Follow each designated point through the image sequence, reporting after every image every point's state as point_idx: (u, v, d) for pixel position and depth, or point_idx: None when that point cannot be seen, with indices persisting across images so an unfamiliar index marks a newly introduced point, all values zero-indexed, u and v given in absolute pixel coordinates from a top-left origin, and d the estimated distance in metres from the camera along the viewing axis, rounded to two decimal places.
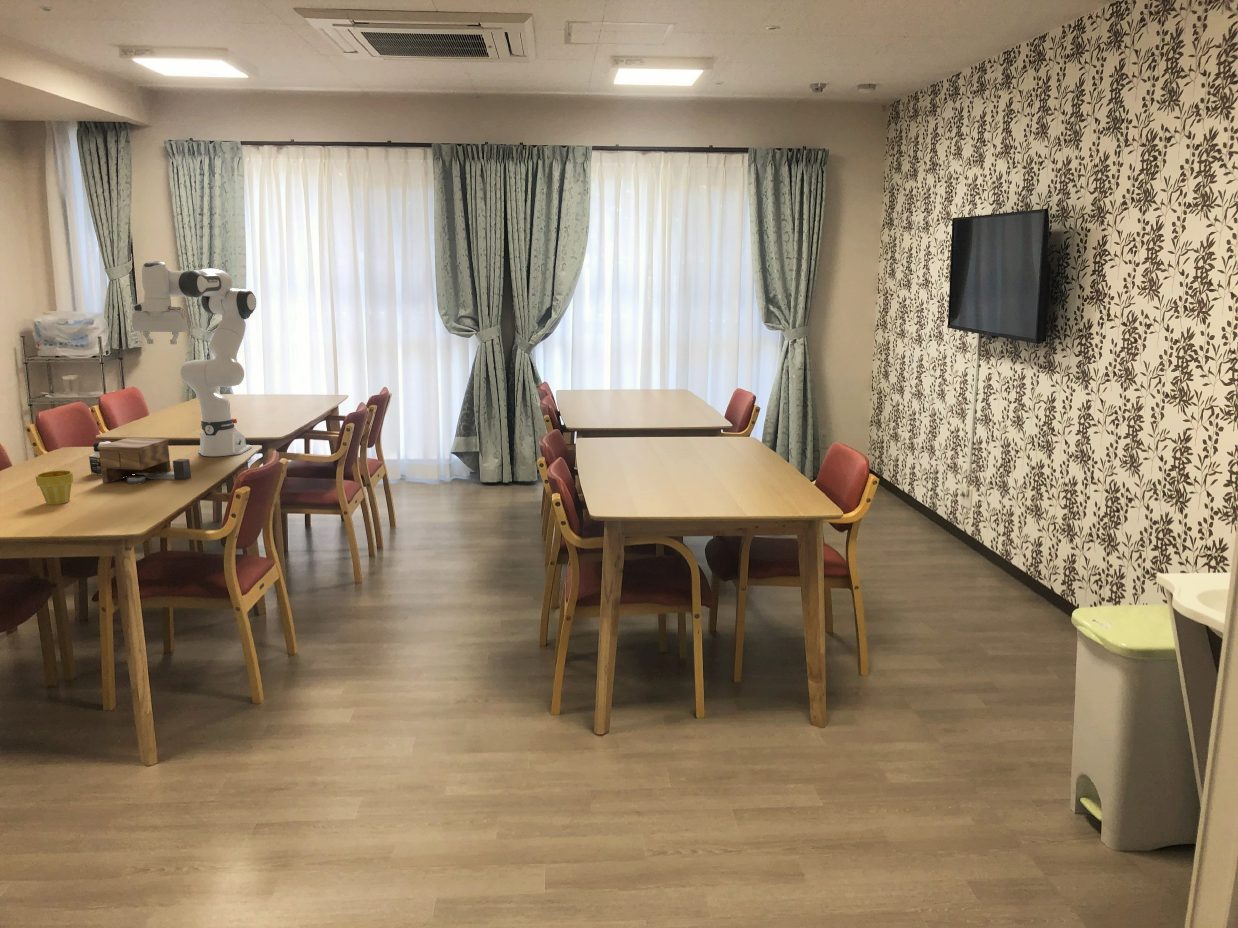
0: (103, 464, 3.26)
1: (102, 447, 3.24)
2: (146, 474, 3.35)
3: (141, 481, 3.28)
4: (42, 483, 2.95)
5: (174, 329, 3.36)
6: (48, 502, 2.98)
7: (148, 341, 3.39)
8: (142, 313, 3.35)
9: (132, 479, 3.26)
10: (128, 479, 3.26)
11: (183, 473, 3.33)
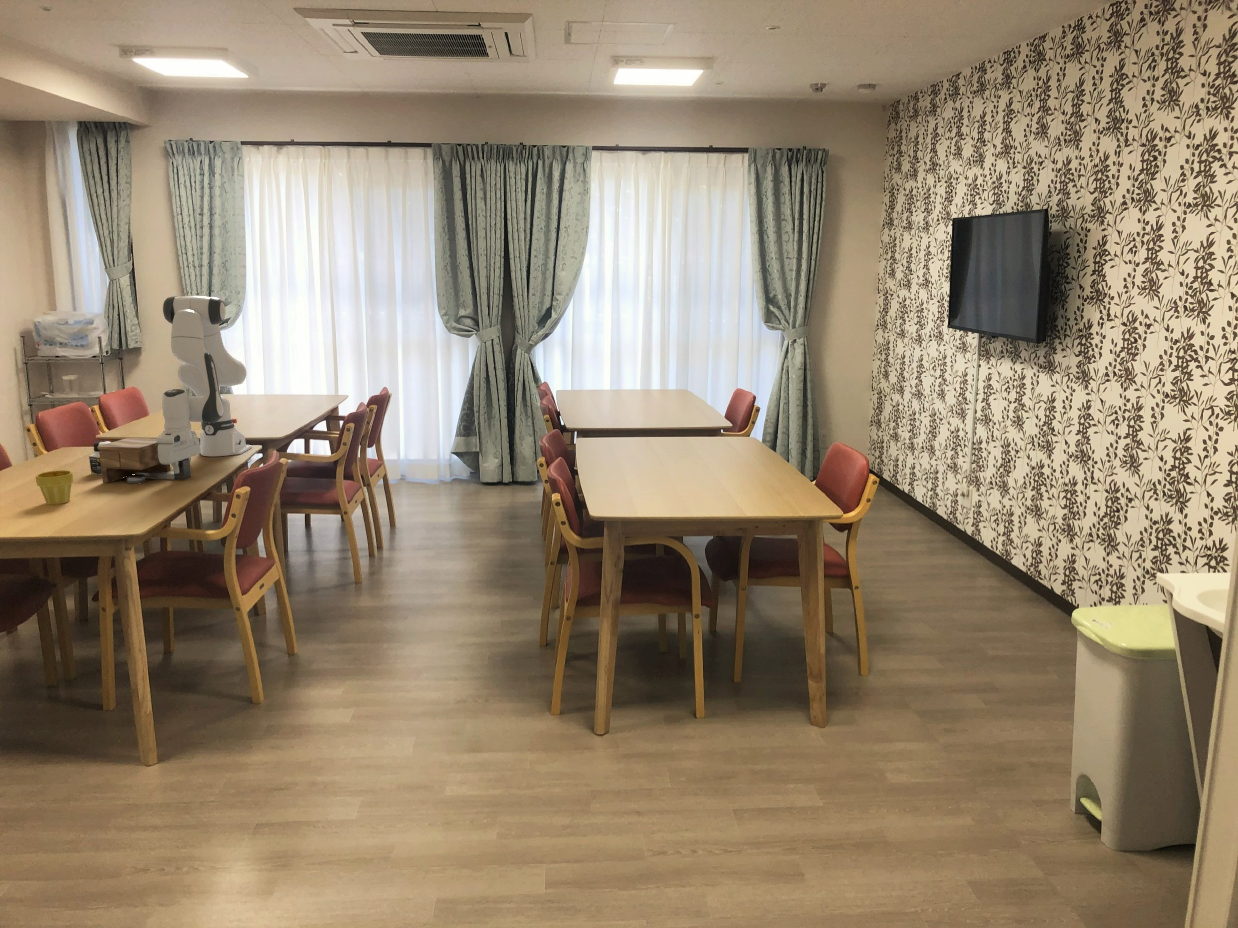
0: (103, 464, 3.26)
1: (102, 447, 3.24)
2: (146, 474, 3.35)
3: (141, 481, 3.28)
4: (42, 483, 2.95)
5: (196, 452, 3.40)
6: (48, 502, 2.98)
7: (179, 470, 3.32)
8: (178, 443, 3.27)
9: (132, 479, 3.26)
10: (128, 479, 3.26)
11: (183, 473, 3.33)
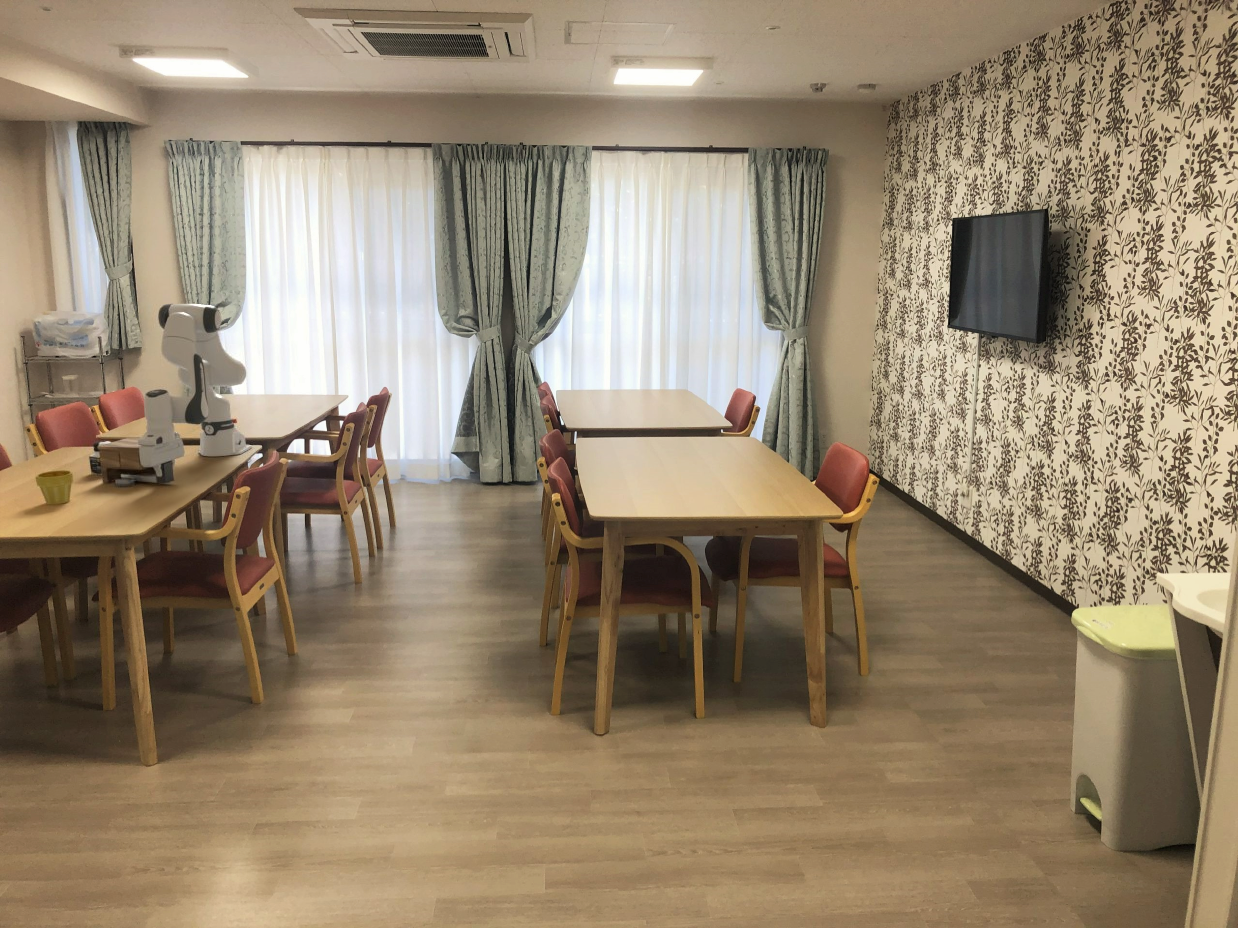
0: (103, 464, 3.26)
1: (102, 447, 3.24)
2: (131, 476, 3.27)
3: (130, 484, 3.23)
4: (42, 483, 2.95)
5: (179, 455, 3.30)
6: (48, 502, 2.98)
7: (162, 473, 3.21)
8: (160, 445, 3.17)
9: (120, 482, 3.21)
10: (117, 482, 3.21)
11: (164, 476, 3.22)
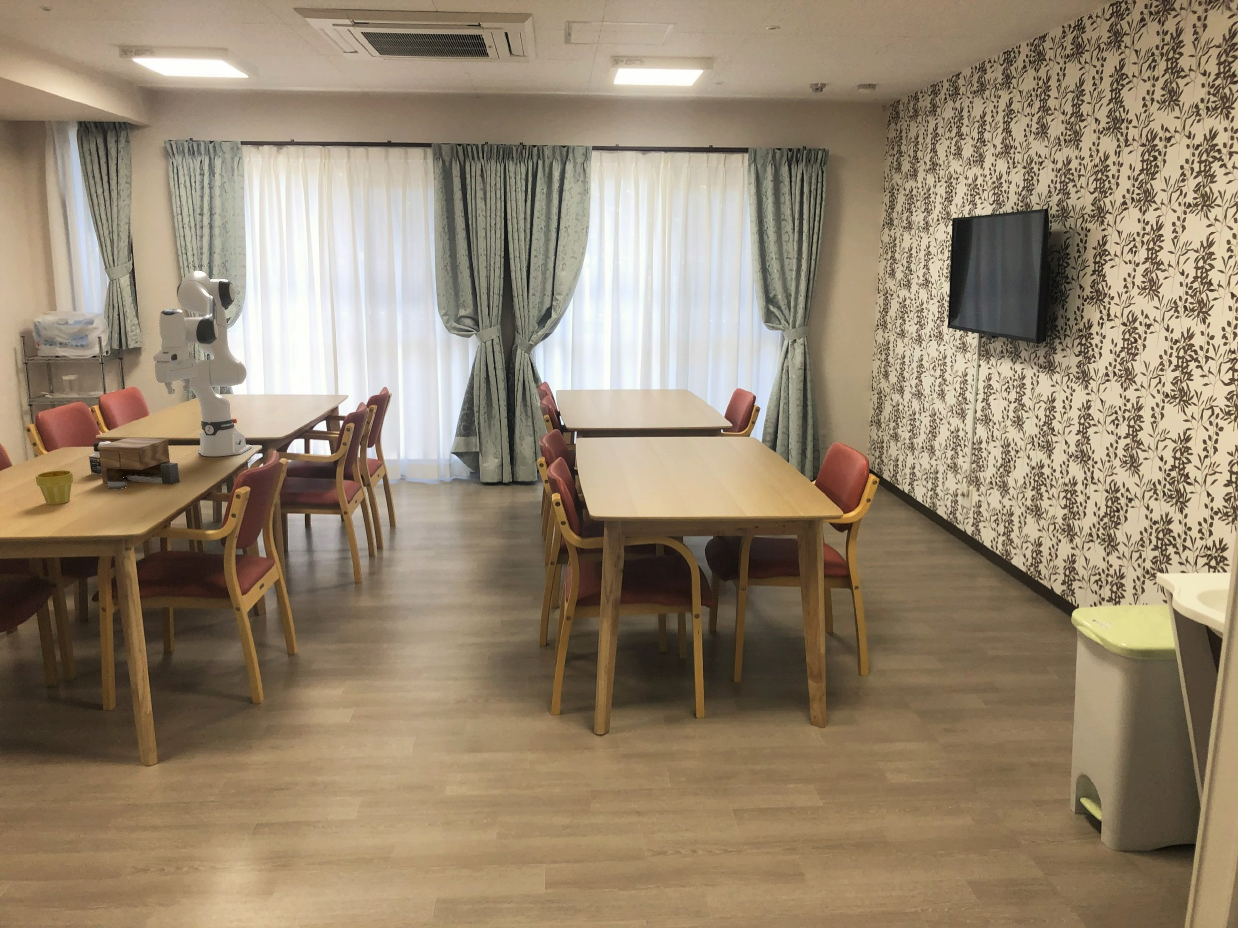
0: (103, 464, 3.26)
1: (102, 447, 3.24)
2: (137, 477, 3.30)
3: (121, 487, 3.19)
4: (42, 483, 2.95)
5: (193, 374, 3.40)
6: (48, 502, 2.98)
7: (173, 391, 3.30)
8: (175, 362, 3.27)
9: (112, 484, 3.18)
10: (108, 484, 3.18)
11: (170, 477, 3.26)
